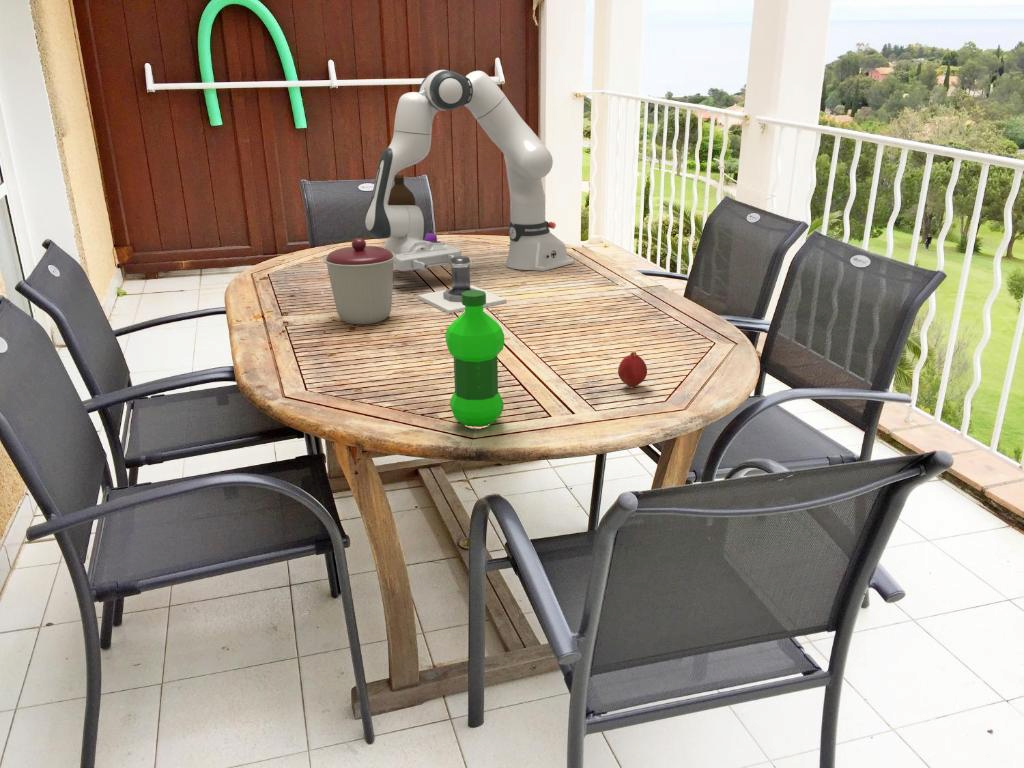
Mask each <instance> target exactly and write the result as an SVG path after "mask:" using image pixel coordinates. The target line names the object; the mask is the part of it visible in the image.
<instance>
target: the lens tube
mask: <svg viewBox="0 0 1024 768" xmlns="http://www.w3.org/2000/svg"><path fill="white" fill-rule="evenodd" d="M470 266H471V260H470V257H468V256H464V255H461V256H457V257H452V258H451V265H450V267H451V289H452V295H458V296H461V293H462V292H464V291H469V290H470V286H471V269H470V268H471V267H470Z"/></svg>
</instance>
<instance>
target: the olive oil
mask: <svg viewBox="0 0 1024 768" xmlns="http://www.w3.org/2000/svg"><path fill="white" fill-rule="evenodd" d="M393 182H394V185H392V186H391V191H390V195H389V200H388V205H414V206H416V198H415V195H414V193H413V192H412V190H410V189H409V188H408V187H407V186H406V185H405V179H404V173H403V172H398V173H397V174H396V175H395V176H394V178H393Z"/></svg>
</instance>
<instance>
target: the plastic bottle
mask: <svg viewBox="0 0 1024 768" xmlns="http://www.w3.org/2000/svg"><path fill="white" fill-rule="evenodd" d="M461 297H462V304H463V305H465V311H463V313H461V314H460V315H459V316H458V317H457V318H456V319H455V320H454V321H453V322H451V324H449V325H448V327H447V328H446V332H445V342H446V347H447V349H448V352H449V354H450V355H451V356H452V357H453V374H454V375H453V377H454V391H453V393H452V396H451V397H450V401H449V404H450V409H451V412H452V414H453V417H454V419H455V420H456V421H457V422H458V423H460V424H461V423H462V424H464V425H467V426H484V425H488V424H491V425H492V424H493V423H494V422H495V421H497V419H499V417H501V415H502V413H503V411H504V401H503V399H502V395H501V394H500V392H499V372H498V371H499V370H498V369H499V367H498V364H499V363H498V355H499V354H500V353H501V352H502V351H503V349H504V346H505V334H504V331H503V329H502V326H501V325H500V323H498V322H497V321H496V320H495V319H494V318H492V317H491V316H490V315H489V314H488V313H487V312H485V311H484V307H483V305H484V304H486V293H485V292H484V291H480V290H469V291H464V292H462V293H461ZM462 424H461V425H462ZM464 425H463V426H464Z"/></svg>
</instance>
